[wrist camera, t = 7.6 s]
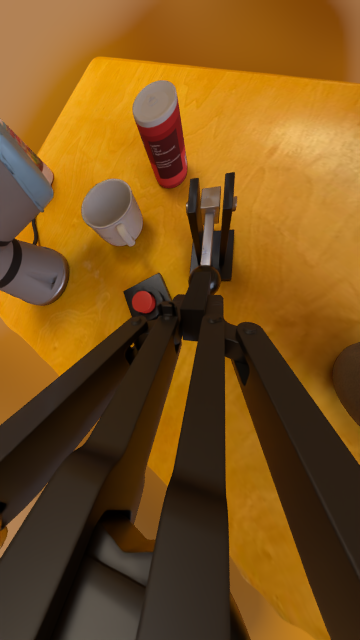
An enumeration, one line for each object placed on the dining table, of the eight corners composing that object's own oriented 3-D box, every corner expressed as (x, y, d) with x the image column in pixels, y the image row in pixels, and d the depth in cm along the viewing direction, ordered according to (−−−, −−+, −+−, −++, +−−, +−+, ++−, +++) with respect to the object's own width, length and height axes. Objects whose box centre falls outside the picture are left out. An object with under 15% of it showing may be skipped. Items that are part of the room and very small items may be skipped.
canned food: (171, 154, 35) (152, 74, 24) (195, 168, 33) (187, 87, 22) (150, 180, 35) (123, 112, 25) (173, 195, 33) (154, 128, 23)
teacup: (104, 223, 37) (76, 193, 29) (141, 202, 35) (121, 164, 27) (118, 271, 34) (90, 251, 27) (159, 251, 32) (142, 224, 25)
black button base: (127, 293, 33) (117, 288, 30) (161, 275, 32) (155, 268, 28) (143, 338, 31) (134, 338, 28) (180, 321, 30) (176, 319, 26)
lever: (218, 302, 17) (220, 291, 14) (189, 301, 18) (184, 290, 15) (225, 208, 19) (227, 179, 16) (198, 211, 20) (195, 183, 17)
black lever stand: (230, 281, 28) (246, 231, 15) (190, 281, 30) (172, 236, 17) (233, 233, 29) (250, 146, 16) (194, 236, 31) (180, 160, 18)
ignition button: (134, 299, 29) (129, 296, 27) (151, 290, 28) (147, 287, 27) (140, 316, 28) (135, 315, 26) (158, 308, 28) (154, 306, 26)
